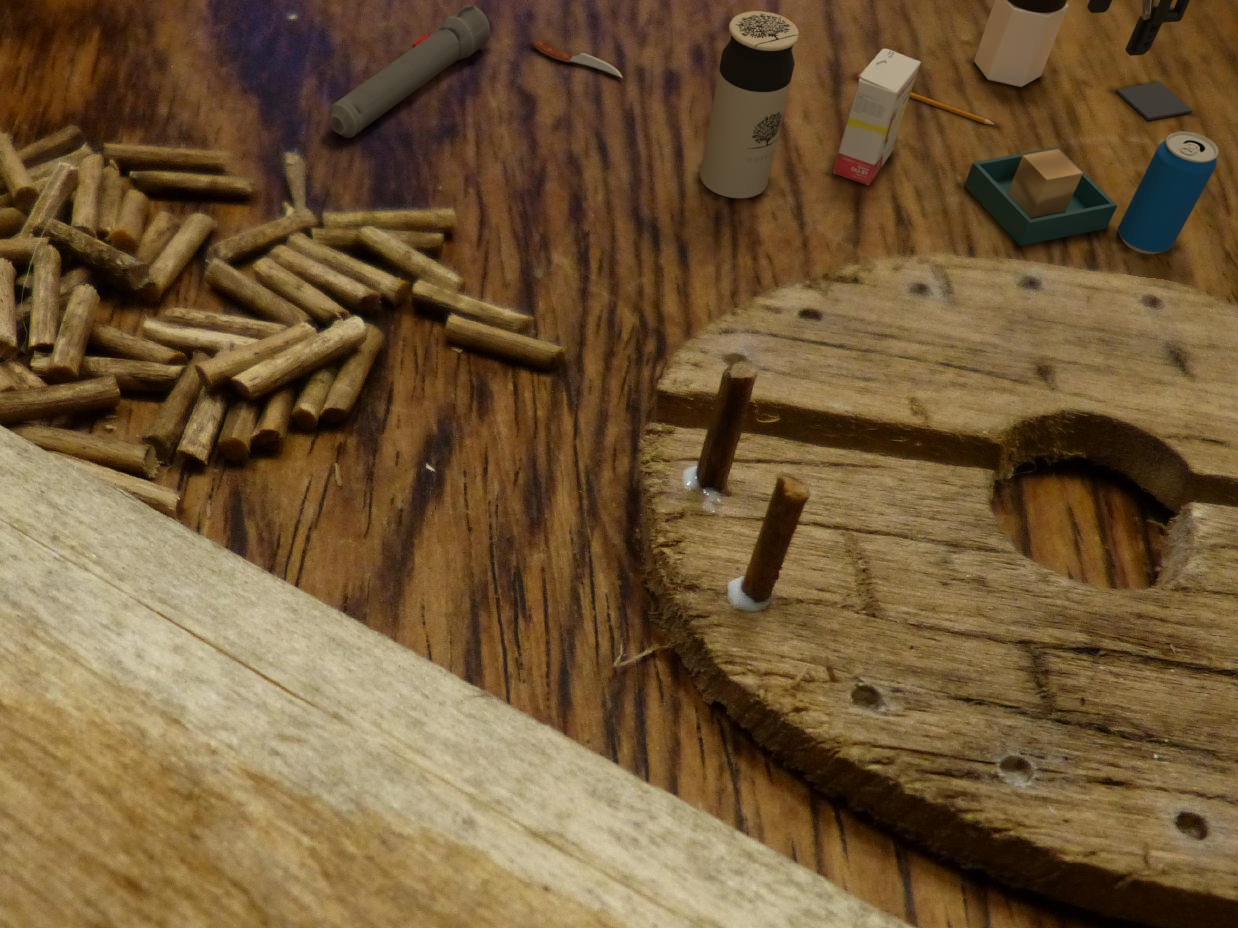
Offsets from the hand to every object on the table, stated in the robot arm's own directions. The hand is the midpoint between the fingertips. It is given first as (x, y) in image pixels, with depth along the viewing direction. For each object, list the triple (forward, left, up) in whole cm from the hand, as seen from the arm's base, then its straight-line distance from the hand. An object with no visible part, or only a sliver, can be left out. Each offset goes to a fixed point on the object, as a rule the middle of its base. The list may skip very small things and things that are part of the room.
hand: (1115, 31), depth 133 cm
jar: (+28, -14, -21) cm, 38 cm away
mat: (+16, -29, -21) cm, 39 cm away
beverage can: (-9, -9, -21) cm, 25 cm away
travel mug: (+15, +33, -21) cm, 42 cm away
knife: (+44, +41, -21) cm, 64 cm away
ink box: (+14, +16, -21) cm, 30 cm away
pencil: (+24, +1, -22) cm, 32 cm away
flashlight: (+43, +64, -21) cm, 80 cm away
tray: (+1, 0, -21) cm, 21 cm away
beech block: (+1, 0, -21) cm, 21 cm away
